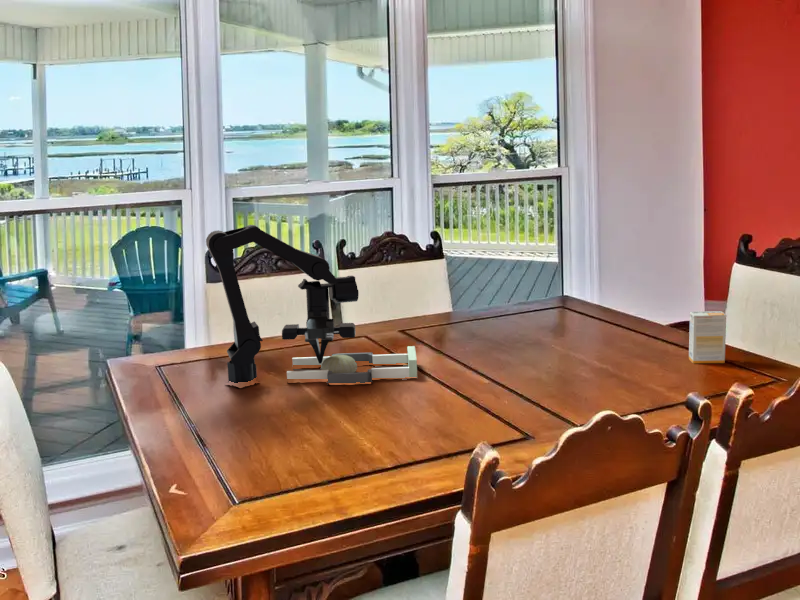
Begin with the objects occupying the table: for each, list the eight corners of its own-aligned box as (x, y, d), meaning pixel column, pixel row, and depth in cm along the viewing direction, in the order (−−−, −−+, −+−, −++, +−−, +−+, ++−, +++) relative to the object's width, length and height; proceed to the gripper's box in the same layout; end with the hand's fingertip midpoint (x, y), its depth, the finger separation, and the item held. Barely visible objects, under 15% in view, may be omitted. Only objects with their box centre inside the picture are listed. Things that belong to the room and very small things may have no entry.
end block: (409, 379, 211) (408, 360, 210) (407, 364, 224) (407, 346, 223) (417, 378, 211) (416, 359, 210) (415, 364, 224) (414, 346, 224)
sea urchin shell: (359, 371, 212) (336, 350, 211) (338, 392, 214) (315, 372, 213) (361, 361, 221) (339, 341, 220) (341, 382, 223) (319, 362, 222)
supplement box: (719, 358, 220) (721, 310, 217) (725, 363, 215) (727, 314, 213) (687, 359, 221) (689, 311, 218) (692, 364, 216) (694, 314, 213)
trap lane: (285, 387, 207) (285, 376, 206) (294, 365, 227) (293, 355, 226) (409, 383, 207) (409, 371, 207) (407, 361, 227) (407, 351, 226)
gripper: (277, 312, 206) (281, 372, 209) (353, 310, 206) (355, 370, 209) (283, 303, 217) (286, 361, 220) (354, 301, 217) (356, 359, 220)
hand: (320, 363), depth 217 cm, fingers closed
